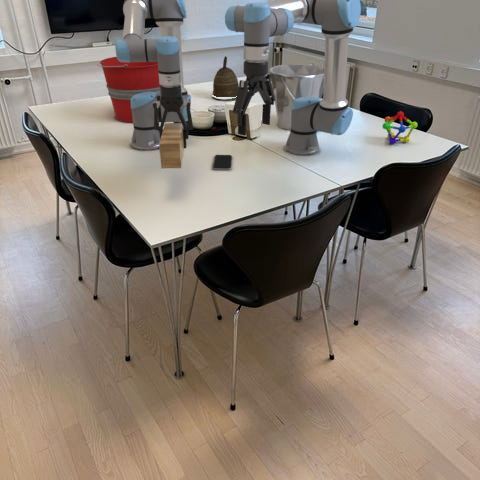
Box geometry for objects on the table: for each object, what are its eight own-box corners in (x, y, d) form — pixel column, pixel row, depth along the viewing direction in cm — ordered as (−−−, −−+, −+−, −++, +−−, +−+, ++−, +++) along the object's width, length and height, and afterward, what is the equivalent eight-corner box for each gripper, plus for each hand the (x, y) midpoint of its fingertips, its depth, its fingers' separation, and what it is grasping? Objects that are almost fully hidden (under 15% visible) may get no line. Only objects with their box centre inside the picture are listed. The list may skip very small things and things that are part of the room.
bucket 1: (115, 106, 261) (107, 52, 245) (174, 107, 260) (170, 52, 244) (97, 124, 232) (87, 64, 216) (164, 125, 231) (159, 65, 215)
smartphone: (212, 168, 182) (215, 154, 194) (213, 169, 182) (215, 156, 195) (230, 168, 182) (231, 154, 194) (230, 170, 182) (231, 156, 195)
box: (167, 145, 171) (165, 123, 166) (184, 145, 171) (183, 122, 166) (161, 168, 153) (159, 144, 148) (181, 168, 153) (179, 143, 148)
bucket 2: (296, 138, 215) (301, 78, 201) (255, 124, 234) (256, 68, 219) (335, 125, 232) (342, 70, 217) (294, 113, 251) (297, 61, 236)
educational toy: (377, 146, 209) (379, 114, 202) (384, 138, 219) (386, 107, 211) (411, 149, 202) (415, 116, 195) (417, 141, 212) (420, 109, 204)
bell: (227, 105, 294) (202, 96, 282) (238, 66, 289) (213, 55, 277) (243, 108, 280) (217, 98, 268) (255, 66, 275) (229, 55, 263)
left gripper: (140, 87, 152) (147, 151, 165) (198, 87, 153) (201, 150, 165) (143, 82, 158) (150, 143, 171) (199, 82, 159) (201, 143, 172)
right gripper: (241, 68, 124) (240, 141, 135) (288, 56, 141) (284, 122, 152) (220, 65, 127) (221, 136, 139) (268, 53, 144) (266, 118, 156)
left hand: (175, 147), depth 168 cm, fingers closed on box, 7 cm apart
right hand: (254, 129), depth 145 cm, fingers open, 13 cm apart
